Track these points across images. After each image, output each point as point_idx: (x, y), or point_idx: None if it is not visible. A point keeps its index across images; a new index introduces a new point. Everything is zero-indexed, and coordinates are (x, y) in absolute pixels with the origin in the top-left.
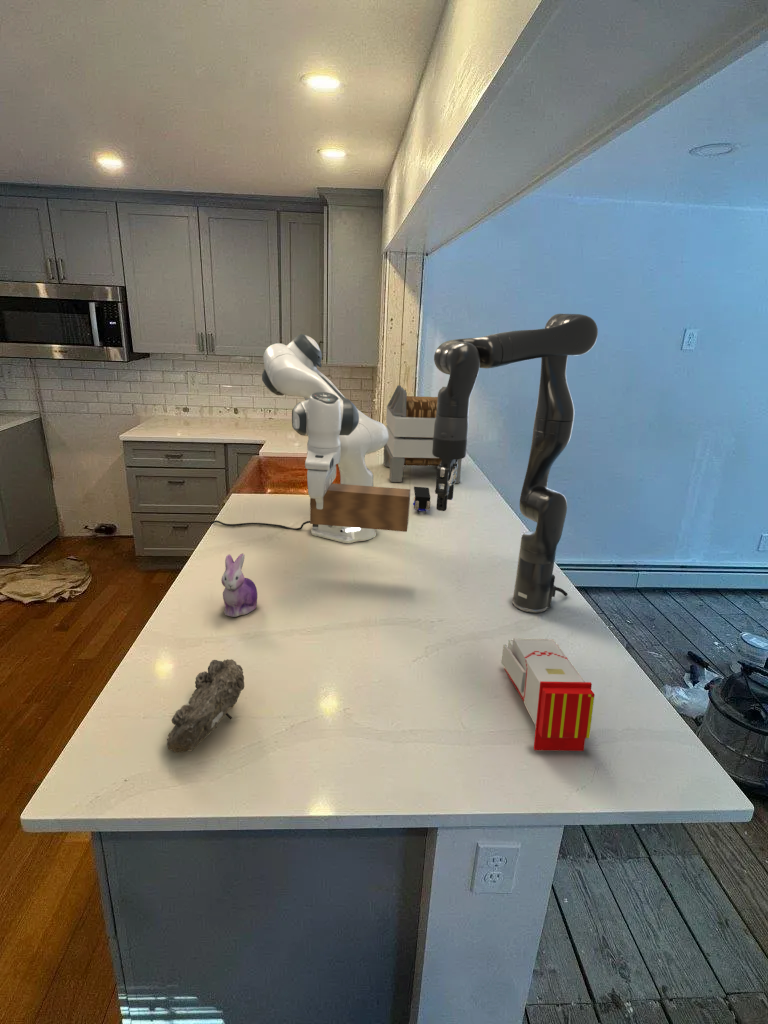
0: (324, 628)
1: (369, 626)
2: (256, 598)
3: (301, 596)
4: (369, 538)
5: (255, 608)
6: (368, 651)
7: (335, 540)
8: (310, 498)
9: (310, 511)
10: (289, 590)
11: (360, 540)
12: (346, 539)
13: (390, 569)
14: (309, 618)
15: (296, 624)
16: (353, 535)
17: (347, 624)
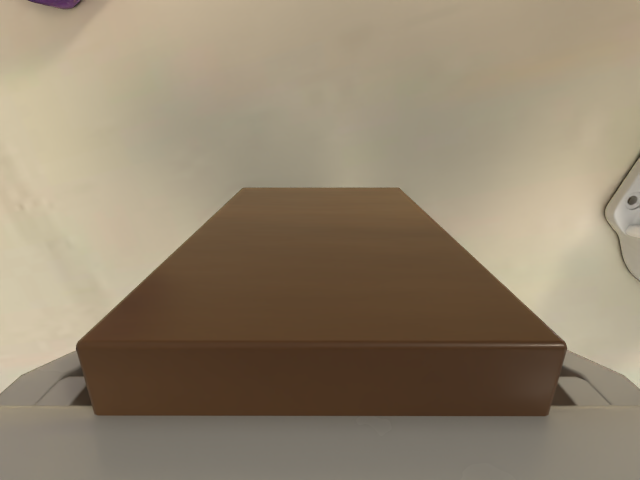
0: (51, 241)
1: None
2: (38, 2)
3: (195, 141)
4: (637, 277)
5: (62, 8)
6: (4, 346)
7: (635, 164)
8: (164, 264)
9: (216, 214)
10: (222, 91)
11: (623, 250)
12: (625, 207)
13: None
14: (82, 193)
15: (38, 166)
16: (638, 235)
17: (92, 290)
